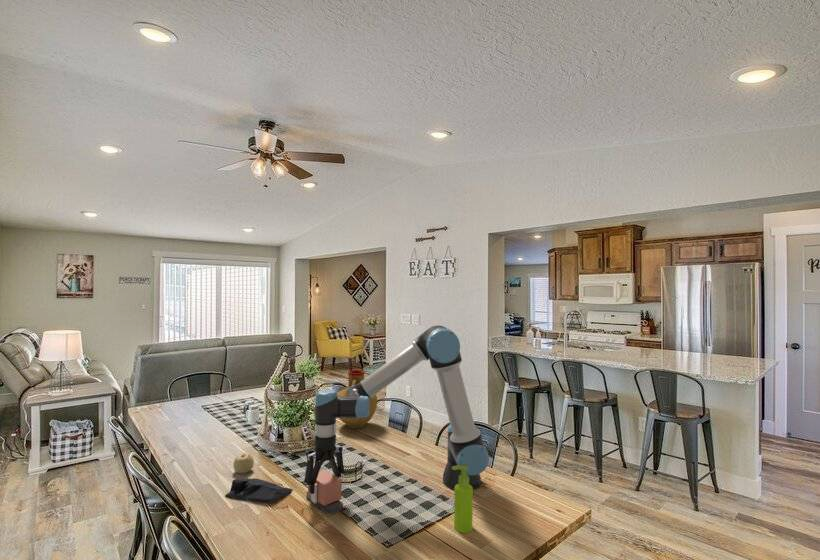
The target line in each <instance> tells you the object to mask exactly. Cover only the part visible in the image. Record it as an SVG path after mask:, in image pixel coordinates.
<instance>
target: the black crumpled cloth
mask: <svg viewBox="0 0 820 560" xmlns="http://www.w3.org/2000/svg"><path fill="white" fill-rule="evenodd" d="M292 491H293V489H292V488H289V487H284V486H281V485H278V484H276V483H272V482H270V481H267V480H264V479H260V478H258V477H257V478H255V477H254V478H248V477H240V478H235V479H233V480H232V481H231V486H230V491H229V492H227V493H226V494H225V497H227V498H233V499H236V500H243V501H251V502H256V503H257V502H258V503H265V504H267V503H268V504H270V503H273V502H275V501H277V500H279V499H281V498H283V497H285V496H287V495H289V494H291V493H292Z"/></svg>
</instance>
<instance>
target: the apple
mask: <svg viewBox="0 0 820 560" xmlns="http://www.w3.org/2000/svg"><path fill="white" fill-rule="evenodd" d="M254 463H255V462H254V457H253V455H251V454H250V453H248V452H243V453H240V454H238V455H237V456H236V457H235V458H234V460H233V469H234V471H235V473H236V474H247V473H249V472H250V471H251V470H252V469H253V468H254Z"/></svg>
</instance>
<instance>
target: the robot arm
mask: <svg viewBox="0 0 820 560" xmlns="http://www.w3.org/2000/svg"><path fill="white" fill-rule="evenodd" d="M423 361H429V363H430V367H431V369H432V370H434V371H436V374H437V378H438V382H439V385H440V390H441V393H442V397H443V400H444V405H445V408H446V413H447V416H448V420H449V425H448V427H447V459H446V460H447V462H446V465H445V468H444V471H443V474H442V482H443V484H444V485H445V486H446V487H447V488H450V489H451V490H455V485H457V484H459V475H461V469H459V470H453V469H452V466H456V465H467V466H468V468H469V470H467V473H466V475H468V476H469V485H471V486H472V487H473V490H477V488H480V487H481V483H482V482H481V481H482V478H481V473H483V472H484V471H485V470H486V469H487V467H488V466H489V463H490V456H489V452H488V450H487V448H486V447H485V445H484V444H485V443H484V441H483V437H482V433H481V430H480V429H479V428H478V427H477V425H475V423H474V417H473V415H472V410H471V406H470V402H469V399H468V395H467V391H466V387H465V383H464V378H463V376H462V375H463V374H462V372H461V368H460V365H461V364H462V362H463V359H462V355H461V342H460V339H459V337H458V335H457V334H456V333H455V332H454V331H452V330H451V329H449V328H447V327H445V326H443V325H432V326H430V327H429V328H427V329H426V330H425V331H424V332H422V333H421V334H420V335H419V336H417V337H416V338H415V339H413V340H412V343H411V345H409V346H408V347H406V348H404V350H403V351H401V352H400V353H399V354H397V355H395V356H394V357H393V358H392V359H390V360H389V361H387V362H386V363H385V364H383V365H381V366H380V367H379V368H378V369H376V370H374V372H372V373H371V374H369V375H368V376H366V377H364V380H362V381H361V382H360V383H358V384H357V385H354V386H351V387H350V388H349V389H348V390H347V392H346V394H345V396H343V397H341V396H337V394H338V393H337V391H336V390H334V389H322V390H318V391H317V392H316V393H315V402H314V451H313V452H312V453H307V454H306V459H307V460H306V461H307V462H306V466H305V474H304V479H303V480H304V481H303V482H304V483H305V484H306V485H307V486H308V485H309V492H310V493H311V500H310V501H311V502H312V503H313V504H315V503H317V484H316V480H317V477H318V474H319V471H321V469H322V468H321V467H322V466H323V464H324V463H325V462H326V461H328V462H329V465H330V467H331V470H332V474H334V475H335V476H337V477H339V478H341V477H342V474H344V473H345V466H344V465H345V464H344V458H343V446H341V445H340V444H337V445H336V443H337V434H336V433H337V419H340V418H364V417H368V416H369V399H370V398H371V397H373V396H374V395H376V396H377V394H379V393H380V392H381V391H383V390H384V389H386V388H387V387H388V386H389V385H391V384H392V383H393V382H395V381H397V380H398V379H400V378H401V377H403V376H404V375H405V374H406V373H408V372H409V371H411V370H412V369H413V368H414V367H416V366H417V365H419V364H420V363H422V362H423ZM334 455H335V456H334Z"/></svg>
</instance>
